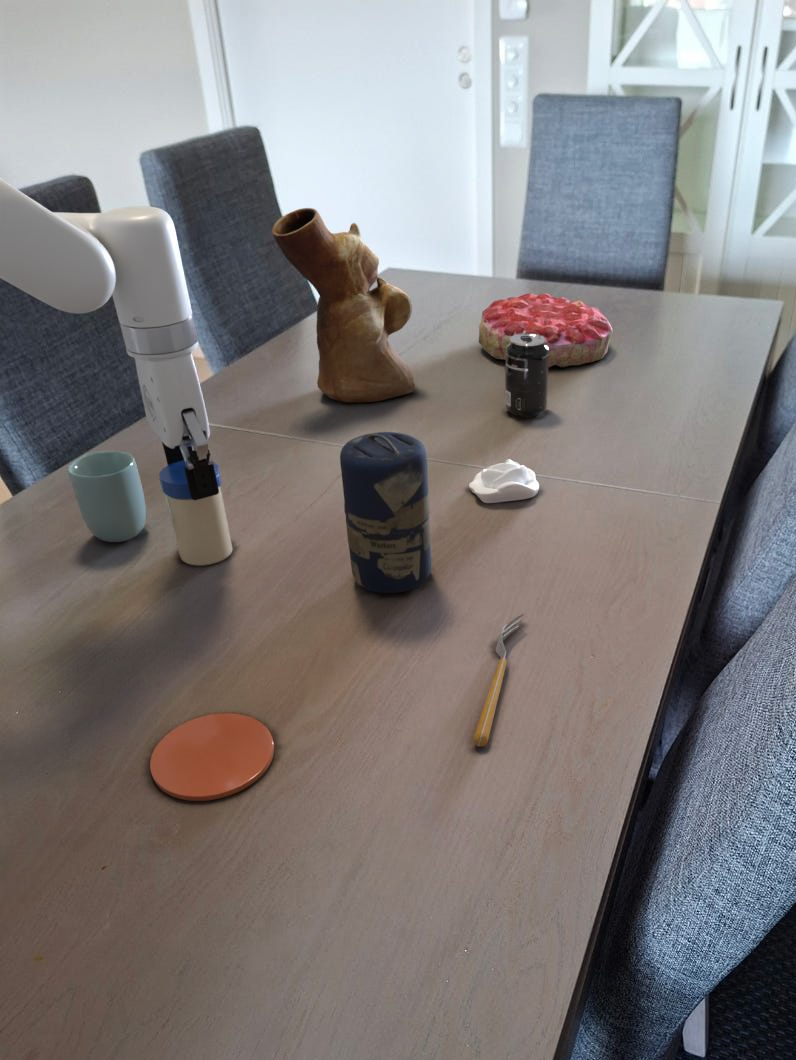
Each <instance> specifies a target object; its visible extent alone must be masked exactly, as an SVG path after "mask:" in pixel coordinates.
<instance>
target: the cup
mask: <svg viewBox="0 0 796 1060" xmlns="http://www.w3.org/2000/svg"><path fill="white" fill-rule="evenodd" d="M67 470H68V471H67V472H68V473H67V474H68V477H69V482H70V484H71V488H72V491H73V494H74V497H75V501H76V503H77V504H76V505H77V506H78V509H79V512H80V515H81V517H82V519H83V522H84V523H85V525H86V527H87V529H88V531H89V532H90V533H91V534H92V535H93V537H95V538H97V539H98V540H100V541H104V542H107V543H122V542H127V541H129V540H133V538H135V537H137V536H139V534H140V533H141V532H142V531H143V529H144V528H145V525H146V522H147V504H146V499H145V493H144V488H143V484H142V480H141V476H140V471H139V468H138V465H137V461H136V459H135V457H134V455H132V454H131V453H129V452H127V451H122V450H99V451H94V452H90V453H87V454H84V455H82V456H80V457H78V458H76V459H75V460H73V461H72V462H71V463H70V464H69V466H68V469H67Z"/></svg>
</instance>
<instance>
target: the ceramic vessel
mask: <svg viewBox="0 0 796 1060" xmlns="http://www.w3.org/2000/svg"><path fill="white" fill-rule="evenodd" d="M323 220H324V219H323V218H322V216H321V215H320V213H319V212H318V210H317V209H315V208H312V207H303V208H297V209H296V210H293V211H290V212H289V213H286V214H285V215H283V216H281V217H280V218H278V220H276V222H275V223H274V224H273V226H272V229H271V234H272V237H273V238H274V241H275V243H276V244H277V246H278V247H279V250H280V251H281V253H282V254H283V256H284V258H285V259H286V260H287V261H288V263H290V264H291V265H292V266H293V267H294V268H295V269H296V271H298V272H299V273H300V275H301V276H302V277H303V278H304V279H305V280H307V282H309V283H310V284H311V285H312V286H313V288H314V289H315V290H316V292H317V293H318V295H319V297H318V299H317V300H318V301H317V306H316V307H317V308H316V327H315V328H316V331H315V332H316V344H317V345H316V346H317V350H318V354H319V355H318V356H319V358H318V376H317V380H316V384H317V388H318V389H319V390H320V391H321V392H323V393H324V394H325V395H326V396H327V397H328V398H329V399H332V400H335V401H338V402H343V403H373V402H380V401H386V400H389V399H392V398H396V397H400V396H401V397H402V396H404V395H408V394H411V393H413V392H414V391H415V388H416V384H415V378H414V376H413V374H412V372H411V370H410V368H409V366H408V365H407V363H406V362H405V361H404V360H403V359H402V357H400V356H399V355H398V353H397V352H396V351H395V350H394V349H393V348H392V346H391V344H390V342H389V341H388V340H389V336H390V335H392V334H394V333H397V332H399V331H400V330H402V329H403V328H404V327H405V326H406V324H407V323H408V321H409V320H410V319H411V316H412V312H413V303H412V300H411V298H410V297H409V295H408V294H407V293H406V292H405V291H404V290H403V289H401V288H399V287H397V286H395V285H391V284H389V283H388V282H387V280H385V279H384V278H383V277H381V276H379V273H378V269H379V266H380V265H379V264H380V260H379V259H380V258H379V257H378V256H377V254H376V253H374V252H373V250H371V249H370V247H369V246H367V244H366V243H365V242H364V241H363V239H362V235H361V231H360V228H359V226H358V224H357V223H356V222H352V223H351V224H350V227H349V230H348V231H347V232H346V231H341V232H336V233H334V232H331V231H330V230H329V229H328V227H327V226H326V224H325V222H324V221H323ZM375 283H376V284H377V285H376V287H374V288H372V286H373V285H374V284H375ZM371 288H372V289H371Z"/></svg>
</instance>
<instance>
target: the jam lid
mask: <svg viewBox="0 0 796 1060" xmlns="http://www.w3.org/2000/svg"><path fill="white" fill-rule="evenodd" d="M213 465H214V470H215V474H216V479H217V484H218V488H219V487H221V485H222V478H221V471H220V468H219V465H218V464H217V462H214V461H213ZM184 467H187V466H186V463H185V460H182V461H178V462H174V463H172V464H169V465H168V464H167V465H166V466H164V467H163V468H162V469H161V470H160V471H159V473H158V477H159V483H160V487H161V489H162V490H161V491H162V493H163V494H164V495H165V494H166V495H167V496H170V497H173V498H179V499H189V498H191V496H190V492H189V488H188V484H187V479H186V475H185V471H184ZM166 495H165V496H166Z"/></svg>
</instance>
